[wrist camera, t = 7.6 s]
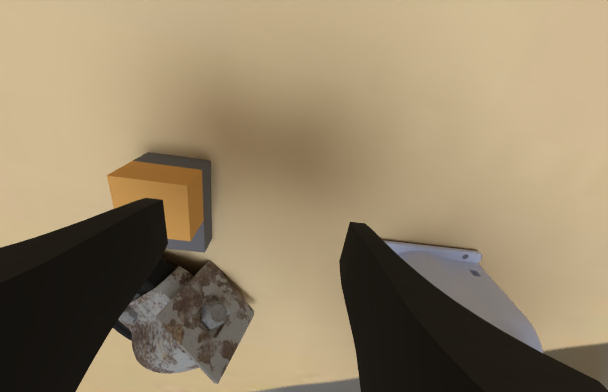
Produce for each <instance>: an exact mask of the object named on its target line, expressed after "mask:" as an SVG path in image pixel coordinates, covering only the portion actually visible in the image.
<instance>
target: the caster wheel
mask: <svg viewBox="0 0 608 392" xmlns="http://www.w3.org/2000/svg"><path fill="white" fill-rule="evenodd" d="M253 316H254V310H253V309H252V308H251V307H250V306H249V304H248V303H247V302H246V301H245V300H244V298H243V297H242V296H241V295H240V294H239V292H238V291H237V290H236V289H235V288H234V286H233V285H232V284H231V283H230V282H229V280H228V279H227V278H226V277H225V276H224V274H223V273H222V272H221V271H220V270H219V268H218V267H217V266H216V265H215V264H214V263H213V262H212V261H210V260H209V261H208V262H207V263H206V264H205V265H204V266H203V267H202V268H201V269H200V270H199V271H198V272H197V273H196V275H195V276H194V277H193V276H192V274H190V273H189V272H188V271H187V270H185V269H183V268H182V267H180V266H178V267H176V268H175V267H174V266H173V265H171V264H170V263H168V262H167V261H165V260H163V259H162V258H160V260H159V262H158V264H157V266H156V267H155V269H154V270H153V272H152V273H151V274H150V276H149V277H148V279H147V280H146V282H145V283H144V284H143V286H142V287H141V288H140V290H139V291H138V293H137V294H136V295H135V297H134V298H133V300H132V301H131V302H130V304H129V305H128V306H127V308H126V309H125V311H124V312H123V313H122V315H121V316H120V317H119V319H118V320H117V322H116V323H115V325H114V326H113V328H114V329H115V330H116V331H118V332H119V333H120V334H122V335H123V336H125V337H126V338H128V339H129V340H132V348H133V351H134V355H135V357H136V359H137V361H138V362H139V363H140V364H141V365H142V366H144V367H145V368H147V369H149V370H151V371H154V372H158V373H169V374H170V373H180V372H185V371H189V370H192V369H195V368H199V367H200V368H201V370H202V371H203V372H204V373H205V374H206V375H207V376H208V377H209V378H210V379H211V380H212V381H213V382H214V383H217V384H218V383H219V381H220V379H221V377H222V375H223V373H224V371H225V369H226V367H227V366H228V364H229V362H230V360H231V358H232V356H233V354H234V352H235V350H236V348H237V346H238V344H239V343H240V341H241V339H242V337H243V335H244V333H245V331H246V329H247V327H248V325H249V323H250V322H251V320H252V318H253Z"/></svg>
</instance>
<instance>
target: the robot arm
mask: <svg viewBox="0 0 608 392" xmlns="http://www.w3.org/2000/svg"><path fill="white" fill-rule="evenodd" d="M167 245H168V239H167V230H166V222H165V213H164V205H163V200H161V199H152V198H144V199H140V200H137V201H134V202H131V203H128V204H126V205H123V206H120V207H118V208H115V209H113V210H110V211H107V212H105V213H102V214H100V215H97V216H94V217H92V218H89V219H87V220H84V221H81V222H78V223H75V224H73V225H70V226H67V227H64V228H61V229H59V230H56V231H53V232H50V233H47V234H44V235H41V236H38V237H35V238H32V239H29V240H25V241H22V242H19V243H15V244H12V245H9V246H5V247H2V248H0V392H75V391H76V390H77V388H78V386H79V384H80V382H81V381H82V379H83V377H84V375H85V373H86V372H87V370H88V368H89V366H90V364H91V363H92V361H93V359H94V358H95V356H96V354H97V352H98V351H99V349H100V347H101V346H102V344H103V342H104V340H105V339H106V337H107V335H108V334H109V332H110V331H111V329H112V328H113V326H114V325H115V323H116V322H117V320H118V319H119V317H120V316H121V315H122V313H123V312H124V311H125V309H126V308H127V306H128V305H129V304H130V302H131V301H132V300H133V298H134V297H135V295H136V294H137V293H138V291H139V290H140V288H141V287H142V286H143V284H144V283H145V282H146V280H147V279H148V277H149V276H150V274H151V273H152V272H153V270H154V269H155V267H156V266H157V264H158V262H159V260H160V258H161V257H162V255H163V253H164V251H165V249H166V247H167ZM463 255H464V256H463ZM481 258H482V255H481V254H480V253H479V252H478V251H473V250H464V249H455V248H446V247H438V246H429V245H420V244H411V243H402V242H394V241H385V240H382V239H381V238H380V237H379V236H378V235H377V234H376V233H375V232H374V231H373V230H372V229H371V228H370V227H369V226H367V225H366V224H364V223H356V222H350V224H349V228H348V232H347V235H346V239H345V243H344V247H343V250H342V254H341V258H340V261H339V262H340V275H341V285H342V289H343V294H344V299H345V303H346V308H347V312H348V316H349V321H350V325H351V330H352V334H353V338H354V344H355V349H356V355H357V363H358V371H359V379H360V387H361V392H608V390H607V389H606V388H605V387H604V386H603V385H602V384H601V383H600V382H599V381H597V380H595V379H593V378H591V377H589V376H587V375H585V374H583V373H581V372H579V371H577V370H575V369H573V368H571V367H569V366H567V365H565V364H563V363H561V362H559V361H557V360H555V359H553V358H551V357H549V356H547V355H545V354H543V351H542V347H541V344H540V341H539V338H538V336H537V334H536V332H535V330H534V328H533V326H532V325H531V323H530V322H529V320H528V319H527V318H526V317H525V315H524V314H523V313H522V312H521V311H520V310H519V309H518V308H517V306H516V305H515V304H514V303H513V302H512V301H511V300H510V299H509V298H508V296H507V295H506V294H505V293H504V292H503V291H502V290H501V289H500V287H499V286H498V285H497V284H496V283H495V282H494V281H493V280H492V279H491V277H490V276H489V275H488V274H487V273H486V272H485V271H484V270H483V269H482V267H481V266H480V265H479V264H478V263H479V261H480V260H481Z"/></svg>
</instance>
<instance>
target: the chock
mask: <svg viewBox="0 0 608 392" xmlns="http://www.w3.org/2000/svg"><path fill="white" fill-rule="evenodd" d="M107 178H108V183H109V188H110V192H111V197H112V201H113V206H114V209H115V208H118V207H120V206H123V205H126V204H128V203H131V202H134V201H137V200H140V199H144V198H152V199H161V200H163V205H164V213H165V222H166V230H167V239H168V245H167V247H166V248H168V249H177V250H186V251H196V252H205V251H206V249H207V247H208V245H209V243H210V241H211V239H212V215H211V161H208V160H201V159H193V158H186V157H179V156H171V155H164V154H156V153H149V152H148V153H146V154H144V155H142V156H141V157H139V158H137V159H135V160H133V161H132V162H130V163H128V164H126V165H125V166H123V167H121V168H119V169H118V170H116V171H114V172H112V173H110V174H109V175H107Z"/></svg>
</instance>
